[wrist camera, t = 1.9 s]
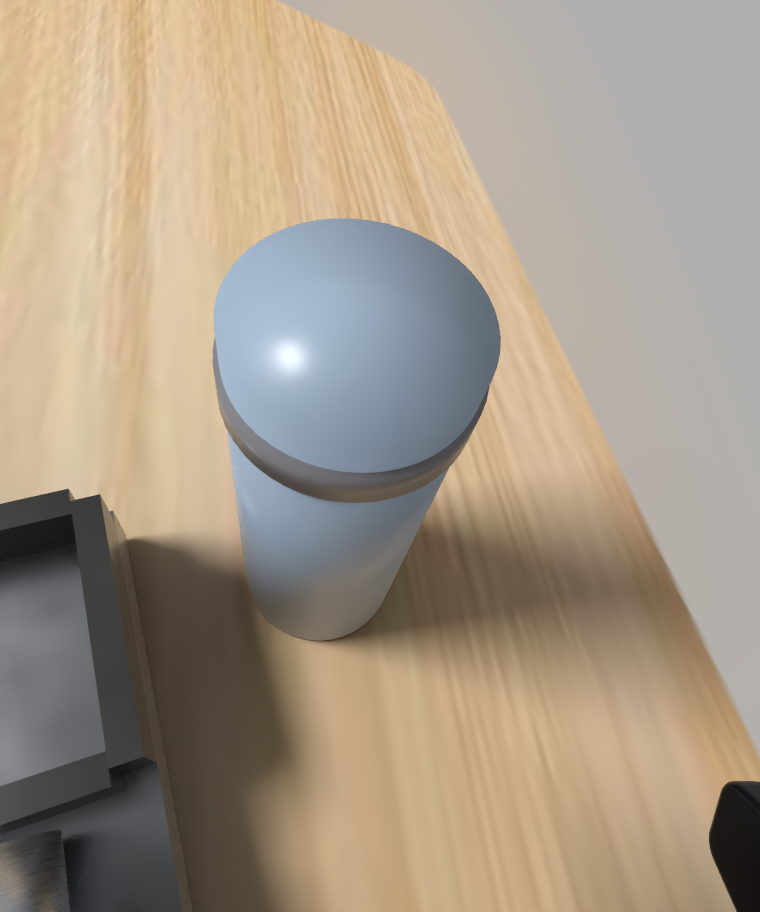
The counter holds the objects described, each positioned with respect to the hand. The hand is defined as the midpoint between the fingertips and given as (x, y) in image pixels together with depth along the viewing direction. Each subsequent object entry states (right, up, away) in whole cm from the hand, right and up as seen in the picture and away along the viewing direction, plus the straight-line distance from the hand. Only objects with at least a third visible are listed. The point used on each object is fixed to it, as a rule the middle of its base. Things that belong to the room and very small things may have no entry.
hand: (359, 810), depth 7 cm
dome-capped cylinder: (-2, 0, +15) cm, 15 cm away
